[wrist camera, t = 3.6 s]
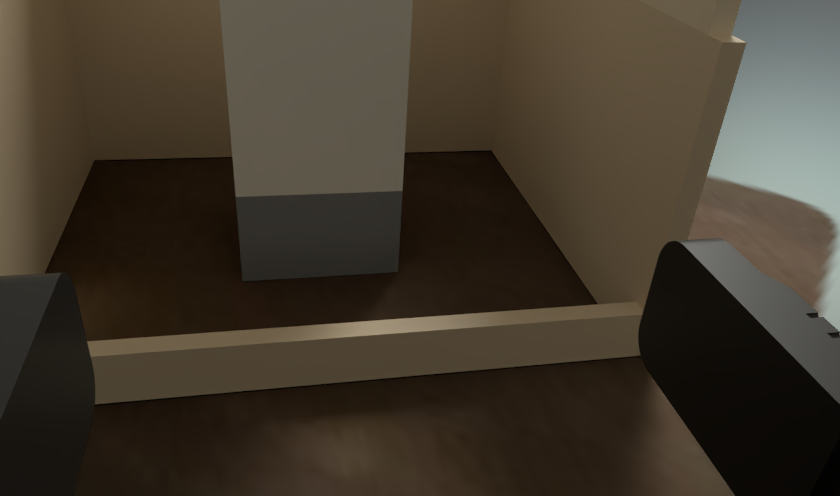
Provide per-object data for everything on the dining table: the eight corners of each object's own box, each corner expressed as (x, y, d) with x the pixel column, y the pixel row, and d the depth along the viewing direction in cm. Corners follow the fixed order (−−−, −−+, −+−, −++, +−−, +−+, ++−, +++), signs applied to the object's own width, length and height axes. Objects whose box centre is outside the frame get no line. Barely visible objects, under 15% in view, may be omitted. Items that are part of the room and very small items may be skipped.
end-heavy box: (242, 281, 22) (206, -154, 16) (244, 206, 27) (216, -162, 20) (397, 272, 23) (420, -141, 17) (376, 201, 28) (387, -151, 21)
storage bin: (-46, 416, 17) (-300, -248, 10) (81, 154, 29) (6, -219, 23) (652, 354, 21) (808, -165, 14) (499, 144, 33) (541, -179, 26)
